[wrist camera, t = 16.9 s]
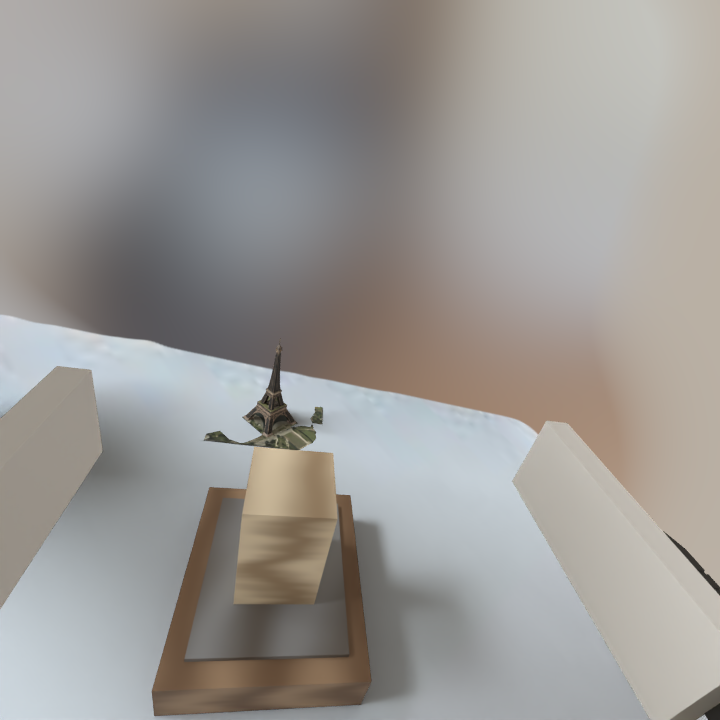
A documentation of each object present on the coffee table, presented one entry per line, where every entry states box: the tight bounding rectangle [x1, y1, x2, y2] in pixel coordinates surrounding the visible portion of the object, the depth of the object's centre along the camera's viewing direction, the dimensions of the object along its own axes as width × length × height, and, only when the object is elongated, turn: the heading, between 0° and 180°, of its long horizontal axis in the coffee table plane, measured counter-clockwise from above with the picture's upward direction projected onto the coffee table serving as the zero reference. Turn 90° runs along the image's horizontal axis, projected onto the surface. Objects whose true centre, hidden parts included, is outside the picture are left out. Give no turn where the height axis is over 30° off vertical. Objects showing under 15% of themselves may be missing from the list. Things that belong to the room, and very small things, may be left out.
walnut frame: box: [152, 487, 371, 716], centre depth 33 cm, size 14×16×4 cm
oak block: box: [233, 447, 338, 604], centre depth 29 cm, size 6×6×10 cm
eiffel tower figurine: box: [204, 345, 322, 450], centre depth 50 cm, size 15×10×13 cm
